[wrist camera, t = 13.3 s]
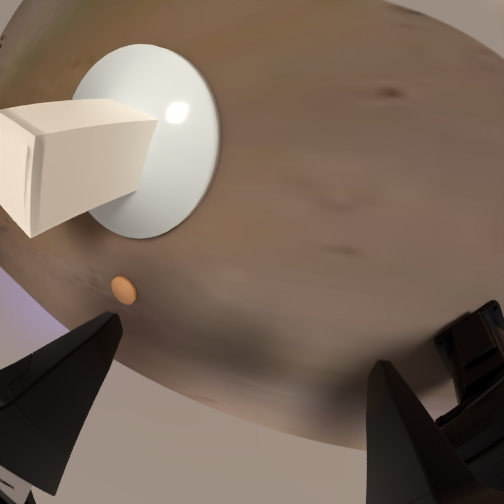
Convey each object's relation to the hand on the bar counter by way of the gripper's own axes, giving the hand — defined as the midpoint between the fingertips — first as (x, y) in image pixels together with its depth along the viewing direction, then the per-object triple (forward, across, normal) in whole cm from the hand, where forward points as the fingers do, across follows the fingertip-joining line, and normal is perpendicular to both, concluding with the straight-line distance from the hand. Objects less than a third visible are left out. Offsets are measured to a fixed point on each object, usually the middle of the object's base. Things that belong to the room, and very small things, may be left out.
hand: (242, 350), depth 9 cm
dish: (+15, +12, -4) cm, 19 cm away
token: (+14, +14, +11) cm, 23 cm away
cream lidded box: (+13, +12, -4) cm, 19 cm away
